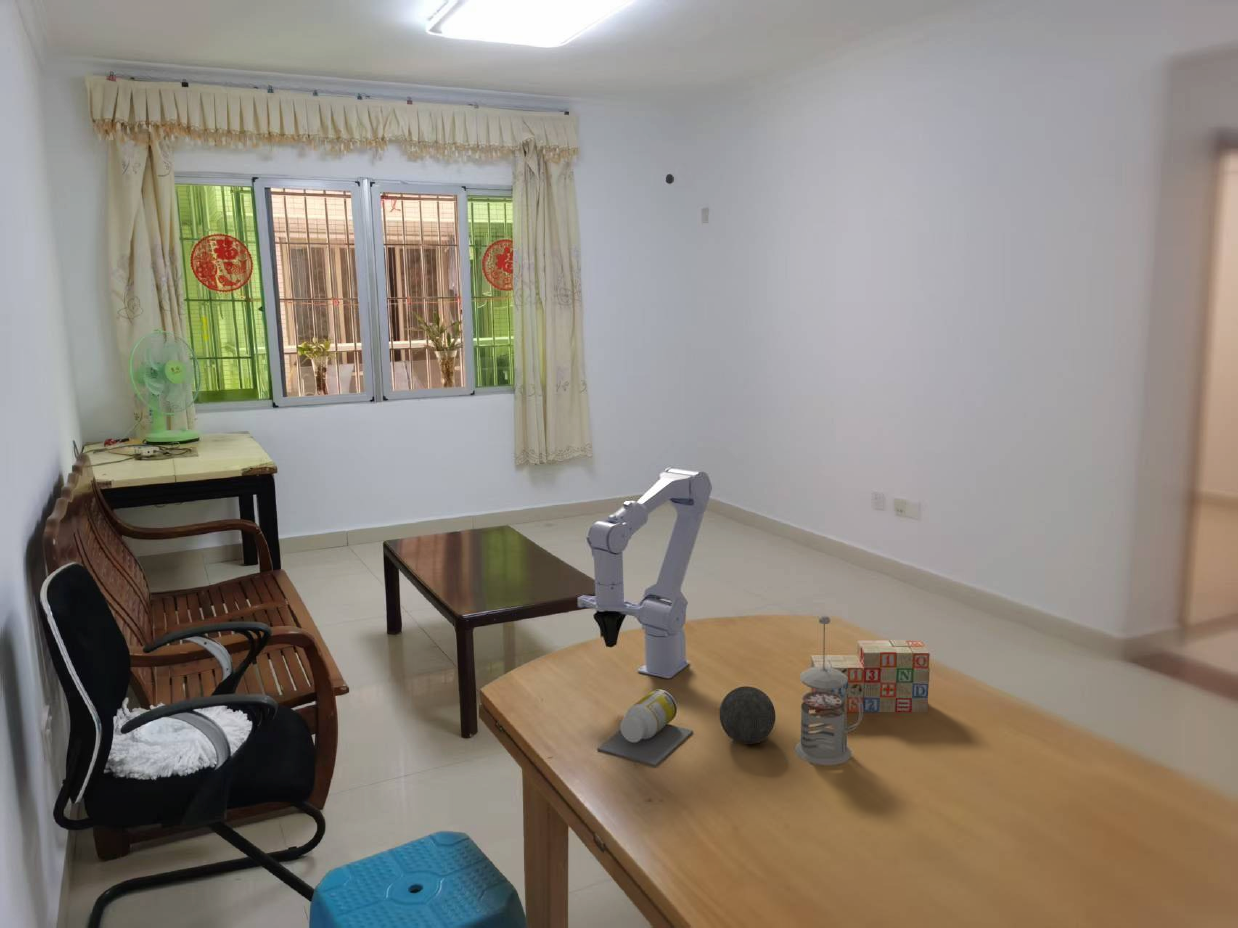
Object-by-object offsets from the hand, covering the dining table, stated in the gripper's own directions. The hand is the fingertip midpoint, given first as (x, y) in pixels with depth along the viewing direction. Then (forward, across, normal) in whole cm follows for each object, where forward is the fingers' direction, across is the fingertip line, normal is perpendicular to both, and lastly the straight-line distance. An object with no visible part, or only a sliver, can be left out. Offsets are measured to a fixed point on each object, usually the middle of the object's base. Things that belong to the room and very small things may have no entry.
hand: (611, 645), depth 180 cm
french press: (+11, +46, -2) cm, 47 cm away
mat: (+10, +16, -14) cm, 24 cm away
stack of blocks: (+11, +47, +19) cm, 52 cm away
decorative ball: (+11, +32, -5) cm, 34 cm away
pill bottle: (+7, +15, -6) cm, 18 cm away
